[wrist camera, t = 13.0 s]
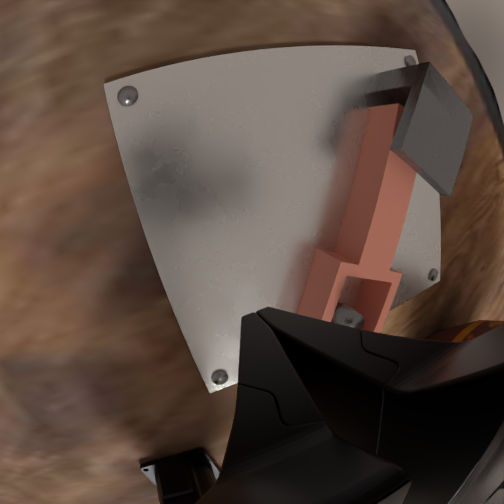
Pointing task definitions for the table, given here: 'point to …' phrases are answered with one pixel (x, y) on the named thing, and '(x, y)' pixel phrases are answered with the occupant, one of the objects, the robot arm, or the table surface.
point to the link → (366, 229)
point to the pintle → (347, 316)
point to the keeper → (427, 123)
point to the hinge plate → (256, 182)
